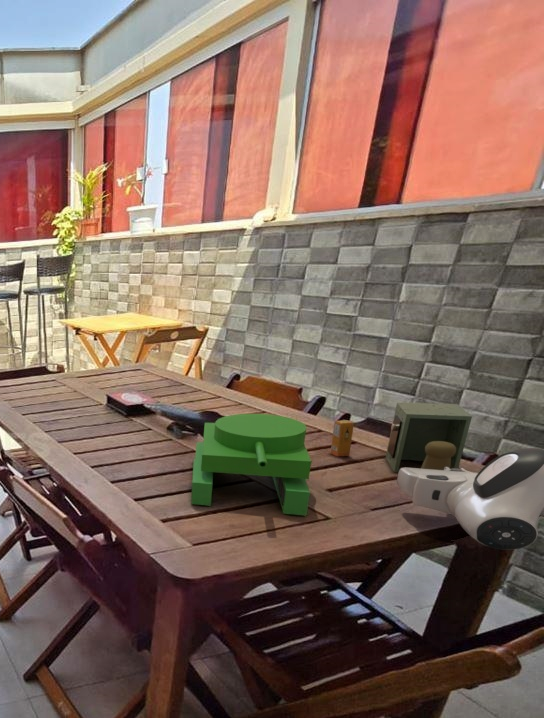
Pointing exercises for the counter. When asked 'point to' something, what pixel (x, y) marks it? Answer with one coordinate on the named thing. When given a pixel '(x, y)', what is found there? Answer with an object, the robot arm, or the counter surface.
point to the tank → (255, 456)
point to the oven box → (426, 431)
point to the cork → (438, 455)
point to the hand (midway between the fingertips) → (452, 470)
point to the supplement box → (342, 438)
